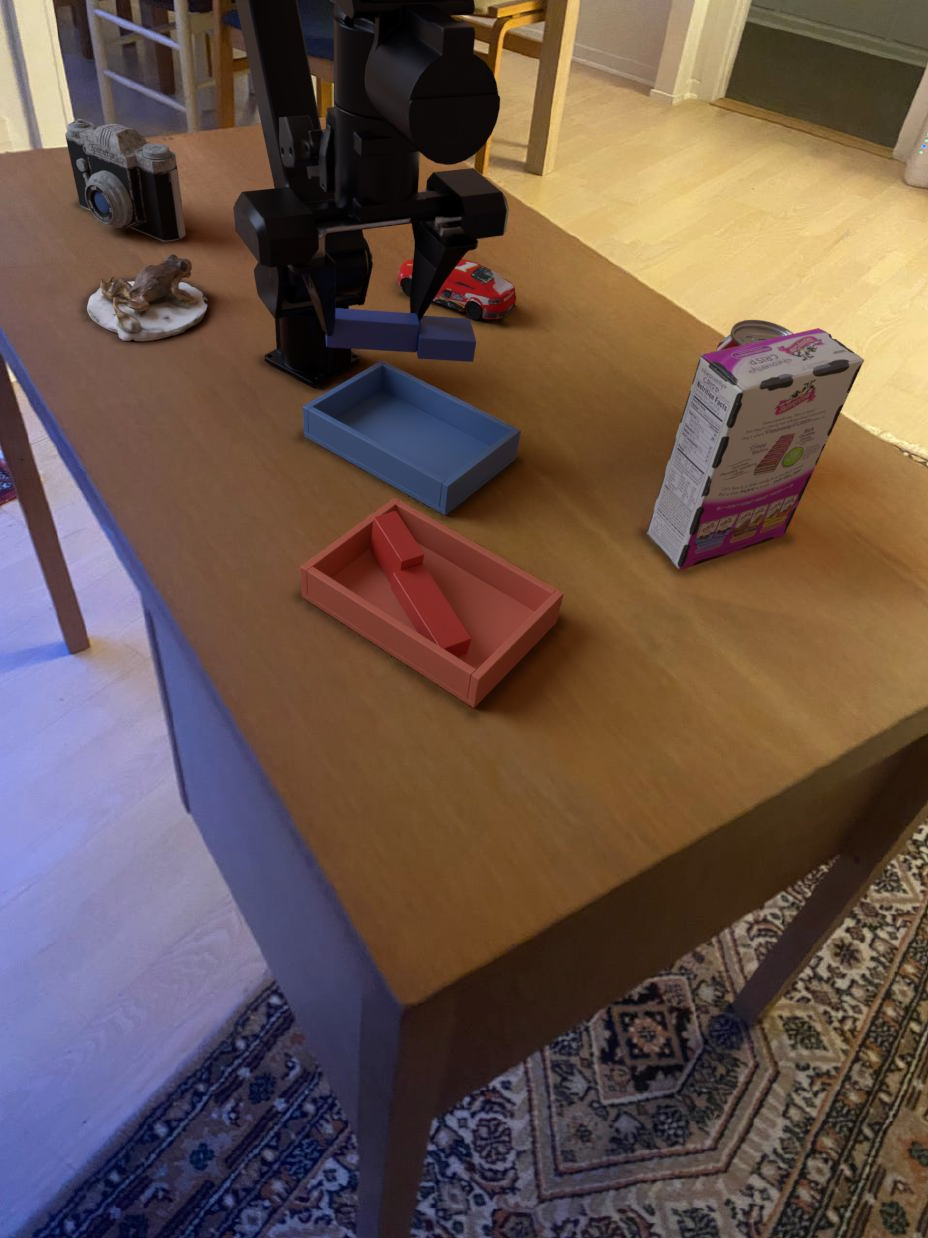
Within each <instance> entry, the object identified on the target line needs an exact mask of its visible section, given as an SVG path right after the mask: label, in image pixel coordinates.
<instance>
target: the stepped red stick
mask: <svg viewBox="0 0 928 1238" xmlns="http://www.w3.org/2000/svg"><path fill="white" fill-rule="evenodd" d="M370 551H371V553H372V554H373V556H374V557H375V559H376V561H377V562H378V564H379V566H380V567H381V569H382V570H383V572H384V574H385V575H386V577H387V579H388V580H389V582H390V583H391V590H392V592H393V593H394V595H395V596H396V598H397V600H398V601H399V603H400V605H401V606H402V608H403V609H404V611H405V613H406V614H407V616H408V618H409V619H410V621H411V623H412V624H413V626H414V627H415V629H416V631H417V632H418V633H419V634H421V635H422V636H424V637H425V638H427V639H429V640H430V641H432V642H433V643H435V644H437V645H438V646H440V647H441V648H443V649H445V650H446V651H448V652H449V653H451V654H452V655H454V656H456V657H458V656H461V655H464V654H466V653H468V649H469V646H470V642H471V636H470V635H469V633H468V632H467V630H466V629H465V627H464V626H463V624H462V623H461V621H460V619H459V618H458V616H457V615H456V613H455V612H454V610H453V609H452V607H451V606H450V604H449V602H448V601H447V599H446V598H445V596H444V595H443V593H442V592H441V590H440V589H439V587H438V585H437V584H436V582H435V581H434V579H433V578H432V576H431V575H430V573H429V572H428V570H427V568H426V567H425V565H424V564H423V560H424V553H423V551H422V550H421V548H420V547H419V545H418V544H417V542H416V541H415V539H414V537H413V536H412V534H411V533H410V531H409V530H408V528H407V527H406V525H405V524H404V522H403V521H402V519H401V518H400V516H399V514H398V513H397V511H394V512H390V513H387V514H384V515H380V516H377V517H374V521H373V529H372V538H371V546H370Z"/></svg>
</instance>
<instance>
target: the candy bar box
mask: <svg viewBox="0 0 928 1238" xmlns="http://www.w3.org/2000/svg"><path fill="white" fill-rule="evenodd" d="M864 363H865V359H864V358H863V357H861V356H860V355H858V354H857V353H856V352H855V351H853V350H851V349H850V348H848V347H847V346H846V345H845V344H844V343H842V342H840V341H839V340H838V339H836V338H833V336H832V334H831V333H829V332H828V331H826V330H824V329H821V328H819V327H816V328H812V329H809V330H804V331H800V332H799V331H798V332H795V333H793V334H791V335H786V336H781V337H777V338H773V339H768V340H764V341H759V342H755V343H750V344H746V345H741V346H737V347H732V348H728V349H723V350H719V351H716V350H714V351H709V352H705V353H702V354H700V355H699V359H698V363H697V364H696V365H697V366H696V369H695V373H694V374H693V375H694V376H693V379H692V382H691V385H690V389H689V393H688V396H687V399H686V403H685V405H684V408H683V412H682V416H681V417H680V422H679V426H678V428H677V432H676V435H675V438H674V442H673V445H672V448H671V451H670V455H669V458H668V461H667V463H666V467H665V472H664V475H663V477H662V481H661V484H660V488H659V490H658V493H657V497H656V501H655V504H654V507H653V511H652V514H651V517H650V520H649V524H648V527H647V530H646V535H647V537H648V538H649V539H650V540H651V542H652V543H653V544H654V545H655V546H656V547H657V548H659V549H660V551H661V552H662V553H663V554H664V555H665V556H666V558H667V559H668V560H669V561H670V562H671V563H672V564H673V566H675V567H676V569H677V570H679V571H680V570H681V571H682V570H685V569H688V568H692V567H694V566H698V565H700V564H703V563H707V562H709V561H712V560H715V559H718V558H720V557H724V556H727V555H730V554H733V553H736V552H738V551H739V552H740V551H742V550H744V549H748V548H751V547H754V546H757V545H759V544H763V543H766V542H769V541H772V540H775V539H778V538H779V539H780V538H781V537H784V536H785V535H786V533H787V531H788V529H789V526H790V524H791V522H792V520H793V518H794V516H795V513H796V511H797V509H798V507H799V505H800V503H801V501H802V498H803V496H804V493H805V491H806V489H807V487H808V484H809V482H810V480H811V479H812V475H813V474H814V471H815V470H816V467H817V465H818V462H819V460H820V458H821V457H822V453H823V451H824V449H825V447H826V445H827V443H828V440H829V438H830V436H831V435H832V433H833V429H834V428H835V425H836V423H837V421H838V419H839V417H840V414H841V412H842V411H843V409H844V405H845V404H846V401H847V399H848V397H849V395H850V393H851V391H852V389H853V386H854V383H855V381H856V379H857V377H858V375H859V372H860V371H861V368H862V366H863V364H864Z"/></svg>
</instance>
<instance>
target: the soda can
mask: <svg viewBox="0 0 928 1238" xmlns="http://www.w3.org/2000/svg"><path fill="white" fill-rule="evenodd" d="M791 334H794V332H793V331H791V330H790V329H788V328H786V327H785V326H782V325H780V324H777V323H775V322H771V321H767V320H762V319H744V320H741V321H738V322H736V323H734V324H733V326H732V327H731V329H730V334H728V335H727V336H725V337H724V338H722V339H721V340H720V342H719V343H718V344H717V347H716V349H715V351H719V350H723V349H728V348H732V347H737V346H741V345H746V344H750V343H755V342H759V341H764V340H768V339H773V338H777V337H781V336H786V335H791Z"/></svg>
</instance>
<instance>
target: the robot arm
mask: <svg viewBox="0 0 928 1238" xmlns="http://www.w3.org/2000/svg"><path fill="white" fill-rule="evenodd" d="M328 1H329V2H330V3H332V5H334V6H333V106H331V107H330V106H328V107H327V108H326V114H325V128H324V129H322V125H321V118H320V113H319V108H318V103H317V99H316V93H315V88H314V83H313V78H312V72H311V71H312V70H311V67H310V61H309V55H308V50H307V45H306V40H305V35H304V29H303V24H302V18H301V14H300V8H299V4H298V0H235V5H236V10H237V14H238V19H239V25H240V29H241V33H242V39H243V44H244V48H245V52H246V57H247V62H248V66H249V71H250V76H251V81H252V86H253V87H252V88H253V91H254V95H255V101H256V105H257V110H258V115H259V121H260V126H261V129H262V134H263V139H264V144H265V147H266V153H267V159H268V163H269V168H270V172H271V179H272V182H273V188H265V189H264V188H263V189H255V190H245V191H244V190H243V191H241V192H240V194H239V195H238V198H237V199H236V201H235V202H234V205H233V219H234V220H233V221H234V230H235V232H236V234H237V236H238V237H239V239H241V241H242V242H243V244H244V245H245V246H246V247H247V249H248V250H249V252H250V253H251V254H252V256H253V257H254V259H255V260H256V261H257V263H256V264H255V266H254V269H253V276H254V281H255V288H256V293H257V296H258V298H259V299H260V300H261V302H262V303H263V305H264V306H265V307H266V310H267V311H268V312H269V313H270V314H271V316H272V317H273V319H274V325H275V326H274V327H275V328H274V329H275V345H276V348H275V349H273V350H272V351H269V352H267V353H265V354H264V362H266V363H267V364H268V365H271V366H273V367H275V368H277V369H279V370H280V371H283V372H284V373H286V374H288V375H290V376H291V377H293V378H295V379H297V380H299V381H301V382H303V383H305V384H307V385H309V386H310V387H318V386H320V385H321V384H324V383H325V382H327V381H329V380H331V379H333V378H334V377H336V376H338V375H340V374H341V373H343V372H345V371H346V370H349V369H350V368H351V367H353V366H355V365H357V364H359V363H360V359H361V356H360V355H359V354H357V353H355V352H353V351H352V349H348V348H331V347H326V335H327V336H328V337H330V336H333V333H334V327H335V311H336V308H343V309H350V307H352V306H364V305H365V303H366V298H367V296H368V295H367V294H368V290H369V286H370V285H369V284H370V280H371V276H372V271H373V268H374V267H373V266H374V263H373V253H372V252H371V249H370V246H369V243H368V241H367V239H366V238H365V236H364V232H363V230H370V229H379V228H386V227H387V228H388V227H395V226H403V225H411V229H412V235H413V240H414V249H413V258H412V259H413V268H412V279H411V289H410V296H409V313H415V314H416V315H417V316H418V319H419V321H420V320H421V319H422V317H423V316H425V315H426V312H427V311H428V309H429V308H430V306H431V305H432V303H433V302H434V301H433V299H434V298H435V296H436V295H437V293H438V291H439V290H440V288H441V287H442V285H443V284H444V282H445V281H446V279H447V278H448V276H449V275H450V274H451V272H452V271H453V270H454V268H455V267H456V266H457V265H458V263H459V262H460V261H461V259H464V256H465V255H466V254H467V253H468V252H470V251H475V250H477V249H478V246H479V240H481V239H482V240H483V239H489V238H495V237H503V236H504V235H505V234H506V232H507V228H508V220H509V213H510V208H509V203H508V199H507V197H506V195H505V194H504V193H503V191H502V190H501V189H499V187H497V186H496V185H495V184H493V183H492V182H491V181H490V180H488V178H486V177H485V176H484V175H482V173H480V172H479V171H478V170H476V169H475V168H474V167H471V168H461V169H451V170H440V171H433V172H431V174H430V175H429V176H428V178H427V179H426V185H425V189H422V190H421V191H419V182H420V167H421V166H420V165H421V155H422V156H423V157H424V158H426V159H427V160H430V161H431V162H433V163H435V164H437V165H438V164H439V165H445V166H451V165H452V166H453V165H457V164H459V163H463V162H465V161H467V160H468V159H470V158H471V157H473V156H475V155H476V154H477V153H478V152H479V151H480V150H481V149H482V148H483V147H484V146H485V145H486V143H487V142H488V140H489V139H490V137H491V136H492V134H493V131H494V130H495V127H496V124H497V122H498V117H499V114H500V109H501V96H500V95H499V89H498V83H497V79H496V77H495V75H494V72H493V71H492V70H493V69H491V68H490V66H489V65H488V64H487V62H486V61H485V60H484V59H482V58H481V57H479V56H478V55H477V54H475V42H476V29H475V27H474V26H473V25H471V24H470V23H469V22H467V21H465V20H457V19H455V18H453V16H454V17H457V16H459V17H460V16H474V14H475V9H476V5H475V0H328Z"/></svg>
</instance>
